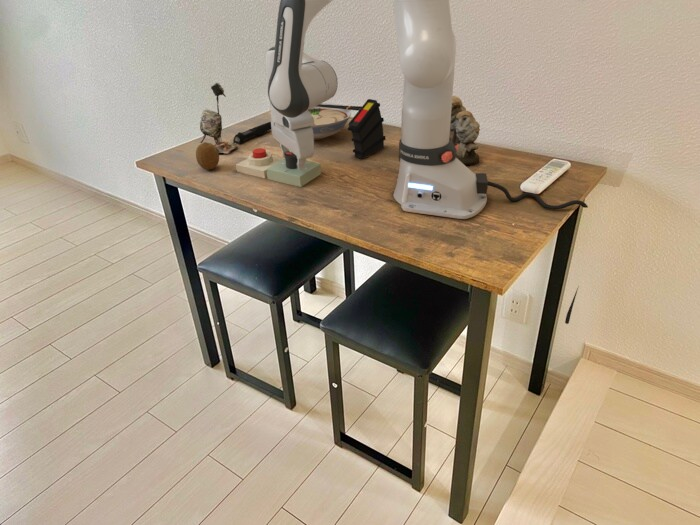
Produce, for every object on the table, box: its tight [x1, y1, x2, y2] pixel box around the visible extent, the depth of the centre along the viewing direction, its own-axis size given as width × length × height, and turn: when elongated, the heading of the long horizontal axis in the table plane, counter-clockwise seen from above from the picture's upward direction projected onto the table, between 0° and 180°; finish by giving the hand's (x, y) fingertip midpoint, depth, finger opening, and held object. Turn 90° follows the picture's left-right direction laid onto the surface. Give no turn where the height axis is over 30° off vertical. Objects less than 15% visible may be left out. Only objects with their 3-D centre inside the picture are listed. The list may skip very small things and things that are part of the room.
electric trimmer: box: [233, 121, 271, 145], centre depth 168 cm, size 4×16×3 cm, turn 143°
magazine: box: [347, 98, 386, 160], centre depth 150 cm, size 4×13×15 cm, turn 142°
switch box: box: [235, 150, 284, 179], centre depth 145 cm, size 10×10×4 cm
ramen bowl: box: [308, 102, 363, 141], centre depth 165 cm, size 25×23×8 cm
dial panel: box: [266, 158, 322, 188], centre depth 140 cm, size 11×10×3 cm
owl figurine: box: [449, 95, 481, 167], centre depth 144 cm, size 18×12×17 cm, turn 58°
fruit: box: [195, 141, 220, 171], centre depth 145 cm, size 6×6×8 cm
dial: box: [284, 151, 298, 169], centre depth 138 cm, size 4×4×4 cm
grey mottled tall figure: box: [199, 82, 238, 154], centre depth 154 cm, size 8×11×20 cm
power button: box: [252, 147, 267, 158], centre depth 144 cm, size 4×4×2 cm
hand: (293, 163), depth 139 cm, fingers open, 8 cm apart
